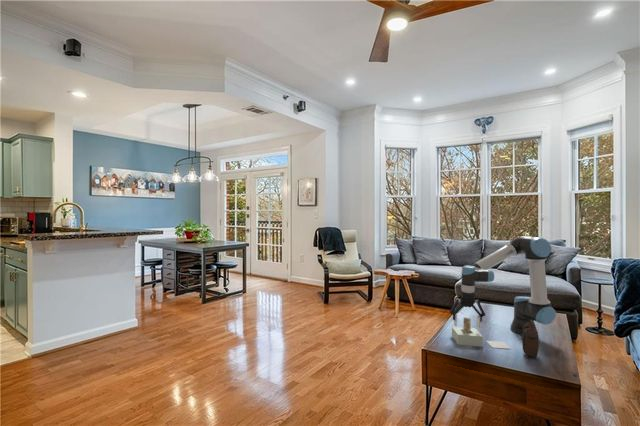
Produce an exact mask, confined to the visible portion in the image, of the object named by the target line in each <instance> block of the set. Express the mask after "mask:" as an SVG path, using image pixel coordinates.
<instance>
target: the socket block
mask: <svg viewBox="0 0 640 426" xmlns="http://www.w3.org/2000/svg"><path fill="white" fill-rule="evenodd" d="M451 337H452V338H453V340H454V341H456V342H455V343H456V345H457V346H467V345H469V347H483V344H484V343H483V342H484V336H483V335H482V334H481V333H480V331H479V330H478V329H476V328H474V327H471V329H470V333H463V327H462V326H461V327H460V326H452V327H451Z"/></svg>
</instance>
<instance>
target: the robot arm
mask: <svg viewBox="0 0 640 426" xmlns="http://www.w3.org/2000/svg"><path fill="white" fill-rule="evenodd" d="M551 252H552V245H551V243H550V242H549V240H548V239H545V238H544V237H539V236H527V235H522V236H519V237H516V238H514V239H512V240H510V241H508V242H506V243H505V244H504V246H502V247H500V248H499V249H497V250H495V251H494V252H491V253H490V254H488V255H486V256H485V257H483V258H481V259H479V260H478V261H476V262H474V263H473V264H467V265H463V266H461V285H460V286H461V287H460V288H461V289H460V290H461V291H460V299H459V298H455V301H454V302H453V305H452V306H451V308H450V310H449V313H450V315H452V320H453V322H454V325H453V326H454V327H458V324H457V323H458V322H457V321H458V316H457V314H458V313H459V312H460V311H461V310H462V308H463V309H464V307H465V308H471V307H472V309H474V311H475V312H476V313H477V324H476V325H477V326H476V327H478V328H479V329H480V328H481V323H482V322H483V317H486V313H485V311H484V308H483V307H482V305H481V301H480V300H479V299H475V295H476V294H475V291H476V288H475V287H476V283H490V282H493V281H494V280H495V273H494V271H493V270H492V269H491V268H493V267H494V266H497V265H498V264H500V263H502V262H504V261H506V260H507V259H510V258H511V257H515V256H518V255H522V254H524V255H525V256H524V258H525V259H526V261H527V262H528V271H529V285H530V296H519V295H518V296H515V297H514V301H513V319H512V322H511V323H510V330H511V331H512V332H514V333H517V334H519V335H520V334H521V335H523V331H524V329H525V328H524V325H525V324H526V323H529V321H530V320H532V321H533V324H534V325H535V326H536V323H539V324H542V325H549V324H552V323H553V321H555V320H556V317H557V312H556V310H555V309H554V308H553V307H552V304H551V301H550V300H549V298H548V291H547V289H548V287H547V277H546V264H545V263H546V261H547V260H548V257H549V255H550V253H551ZM459 303H460V304H459ZM458 304H459V305H458ZM475 304H477V306H478V308H477V307H476V306H475ZM457 306H458V307H457ZM535 322H536V323H535ZM536 330H537V331H538V329H537V328H536Z"/></svg>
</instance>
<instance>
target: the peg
mask: <svg viewBox="0 0 640 426" xmlns="http://www.w3.org/2000/svg"><path fill="white" fill-rule="evenodd" d="M471 321H472V319H471V318H470V317H466V316H464V317H463V322H462V323H463V325H462V326H463V333H470V329H471V328H472V327H471V323H472V322H471Z"/></svg>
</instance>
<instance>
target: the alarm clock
mask: <svg viewBox="0 0 640 426" xmlns="http://www.w3.org/2000/svg"><path fill="white" fill-rule="evenodd" d="M524 328H525V329H524V331H523V334H522V337H521V339H522V342H521V344H522V351H523V354H524V355H525V357H526V359H527V360H528V357H529V356H530V357H534V359H535V360H536V359H537V358H536V357H538V353H539V350H540V344H539V343H540V339H539V332H538V329H537V326H536V324H535V325H534V324H533V321H532V320H530V321H529V323H526V324H525V325H524ZM536 329H537V330H536Z"/></svg>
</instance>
